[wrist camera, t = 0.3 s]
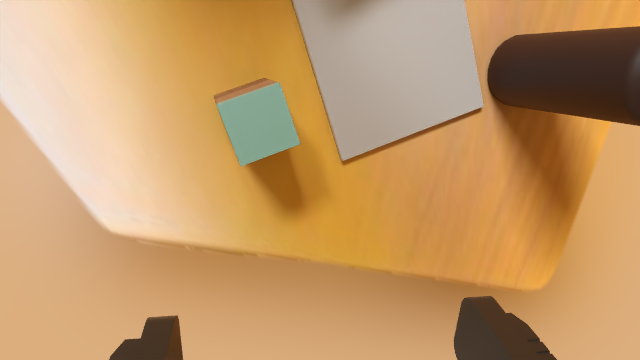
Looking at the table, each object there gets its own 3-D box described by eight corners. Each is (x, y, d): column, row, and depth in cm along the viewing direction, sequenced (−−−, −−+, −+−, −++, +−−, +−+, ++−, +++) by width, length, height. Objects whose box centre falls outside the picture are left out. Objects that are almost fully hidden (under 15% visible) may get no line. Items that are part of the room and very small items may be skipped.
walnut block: (213, 95, 37) (216, 105, 29) (264, 78, 37) (279, 82, 30) (232, 145, 38) (240, 166, 31) (281, 127, 39) (300, 144, 31)
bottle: (472, 76, 42) (688, 92, 24) (517, 19, 42) (772, -12, 23) (514, 119, 45) (739, 163, 26) (557, 65, 44) (816, 71, 26)
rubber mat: (285, -20, 36) (286, -22, 35) (447, -71, 38) (450, -73, 37) (340, 159, 41) (342, 161, 40) (480, 105, 43) (483, 106, 43)
